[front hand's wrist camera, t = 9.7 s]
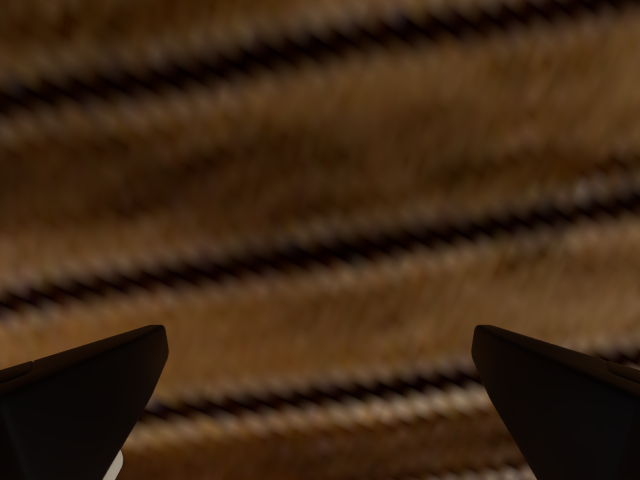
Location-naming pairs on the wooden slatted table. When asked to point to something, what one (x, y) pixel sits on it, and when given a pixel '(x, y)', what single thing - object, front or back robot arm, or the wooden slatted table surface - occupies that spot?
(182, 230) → the wooden slatted table surface
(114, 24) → the wooden slatted table surface
